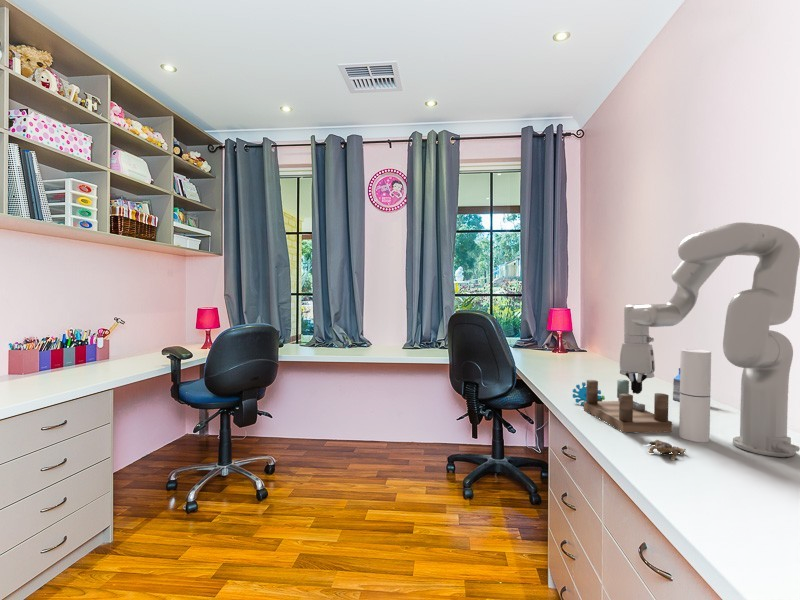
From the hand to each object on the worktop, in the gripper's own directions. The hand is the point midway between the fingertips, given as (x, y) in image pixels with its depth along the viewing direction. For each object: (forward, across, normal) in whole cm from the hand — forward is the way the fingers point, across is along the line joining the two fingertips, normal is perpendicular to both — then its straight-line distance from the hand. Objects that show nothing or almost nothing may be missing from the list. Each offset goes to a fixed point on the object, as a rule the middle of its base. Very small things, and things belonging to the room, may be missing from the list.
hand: (636, 392), depth 147 cm
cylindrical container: (+7, -20, +16) cm, 27 cm away
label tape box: (+7, -8, -29) cm, 31 cm away
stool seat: (+7, 0, +13) cm, 15 cm away
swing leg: (+4, 0, +5) cm, 6 cm away
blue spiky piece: (+7, +16, +2) cm, 17 cm away
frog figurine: (+8, -18, +35) cm, 40 cm away
